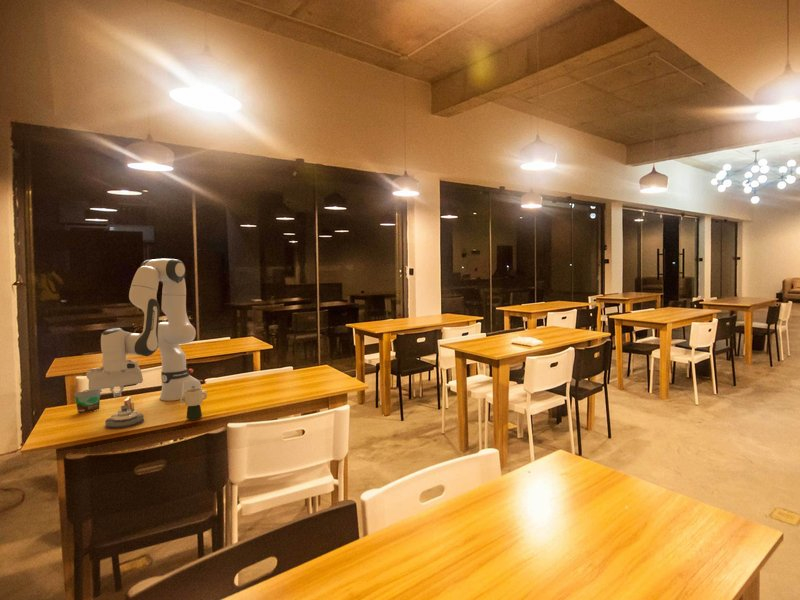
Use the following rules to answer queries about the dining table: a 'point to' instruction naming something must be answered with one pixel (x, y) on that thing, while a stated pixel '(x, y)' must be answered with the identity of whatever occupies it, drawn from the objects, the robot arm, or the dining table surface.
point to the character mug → (193, 402)
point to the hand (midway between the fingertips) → (117, 396)
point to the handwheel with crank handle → (125, 424)
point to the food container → (87, 400)
